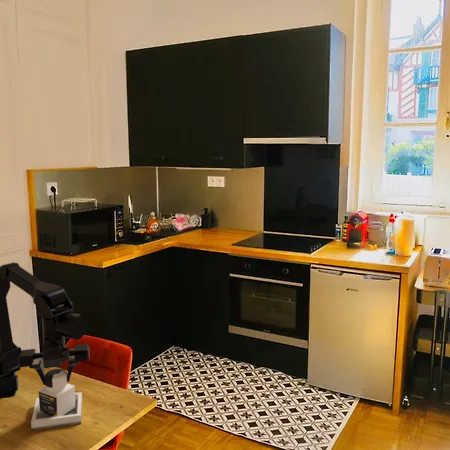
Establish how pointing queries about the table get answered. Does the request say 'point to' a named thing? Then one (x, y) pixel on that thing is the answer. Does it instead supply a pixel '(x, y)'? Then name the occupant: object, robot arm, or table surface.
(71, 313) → the robot arm
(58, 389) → the medicine bottle
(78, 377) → the table surface
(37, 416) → the walled box
